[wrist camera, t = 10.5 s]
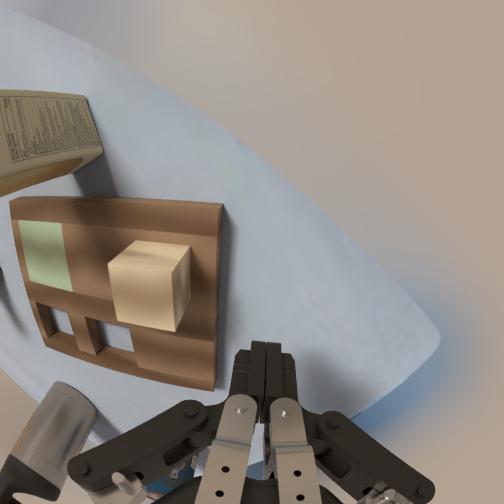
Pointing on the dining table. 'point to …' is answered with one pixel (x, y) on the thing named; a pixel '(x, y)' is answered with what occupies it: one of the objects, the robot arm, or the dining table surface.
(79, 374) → the dining table surface
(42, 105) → the skincare box
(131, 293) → the birch block
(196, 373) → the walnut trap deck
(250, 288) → the dining table surface
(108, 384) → the dining table surface
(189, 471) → the soda can
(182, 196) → the dining table surface
